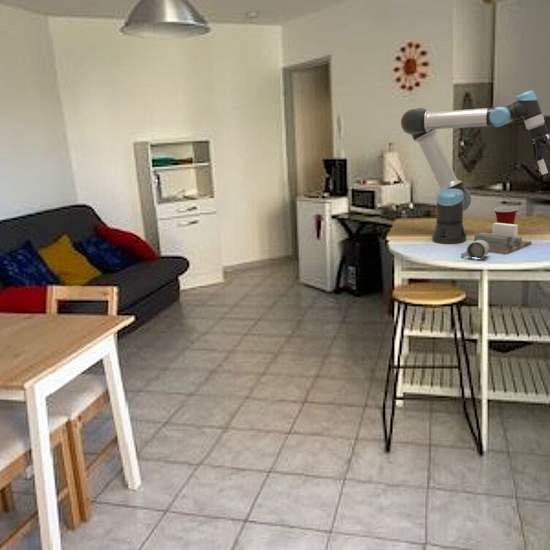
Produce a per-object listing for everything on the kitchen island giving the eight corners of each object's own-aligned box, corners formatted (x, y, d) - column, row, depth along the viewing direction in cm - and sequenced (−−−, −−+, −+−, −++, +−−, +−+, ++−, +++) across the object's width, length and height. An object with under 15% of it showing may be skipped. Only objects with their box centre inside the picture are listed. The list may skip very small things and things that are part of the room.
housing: (496, 240, 262) (497, 226, 260) (531, 244, 250) (532, 229, 248) (471, 249, 248) (471, 234, 246) (506, 254, 236) (507, 239, 234)
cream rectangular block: (495, 240, 255) (496, 222, 252) (517, 242, 247) (518, 224, 245) (492, 241, 253) (492, 223, 251) (513, 244, 245) (514, 226, 243)
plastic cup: (487, 232, 279) (488, 207, 276) (504, 229, 283) (506, 205, 279) (504, 235, 269) (505, 210, 266) (521, 232, 273) (523, 207, 270)
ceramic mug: (490, 256, 235) (490, 238, 233) (485, 261, 229) (485, 242, 227) (463, 254, 241) (464, 237, 239) (458, 259, 234) (458, 241, 232)
